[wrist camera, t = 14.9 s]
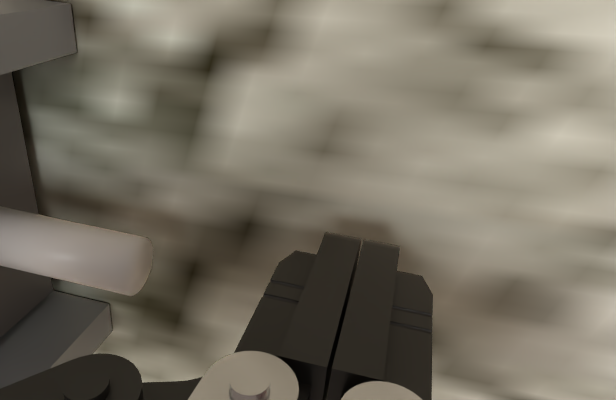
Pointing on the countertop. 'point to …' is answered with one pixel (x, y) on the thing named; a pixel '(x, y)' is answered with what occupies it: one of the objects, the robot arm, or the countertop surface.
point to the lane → (56, 306)
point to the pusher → (52, 235)
